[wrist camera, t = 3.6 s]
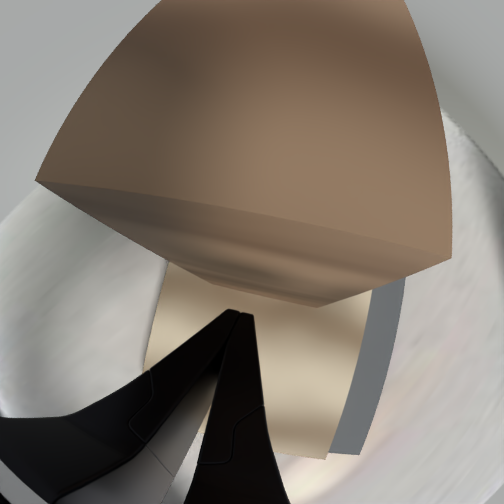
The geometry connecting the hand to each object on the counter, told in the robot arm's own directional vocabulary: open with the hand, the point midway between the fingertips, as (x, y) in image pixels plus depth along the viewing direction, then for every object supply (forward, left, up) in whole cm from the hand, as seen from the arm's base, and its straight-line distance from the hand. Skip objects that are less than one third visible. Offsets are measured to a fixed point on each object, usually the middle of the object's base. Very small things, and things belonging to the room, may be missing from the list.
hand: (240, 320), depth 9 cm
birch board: (0, 0, -9) cm, 9 cm away
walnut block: (+4, +2, -7) cm, 8 cm away
